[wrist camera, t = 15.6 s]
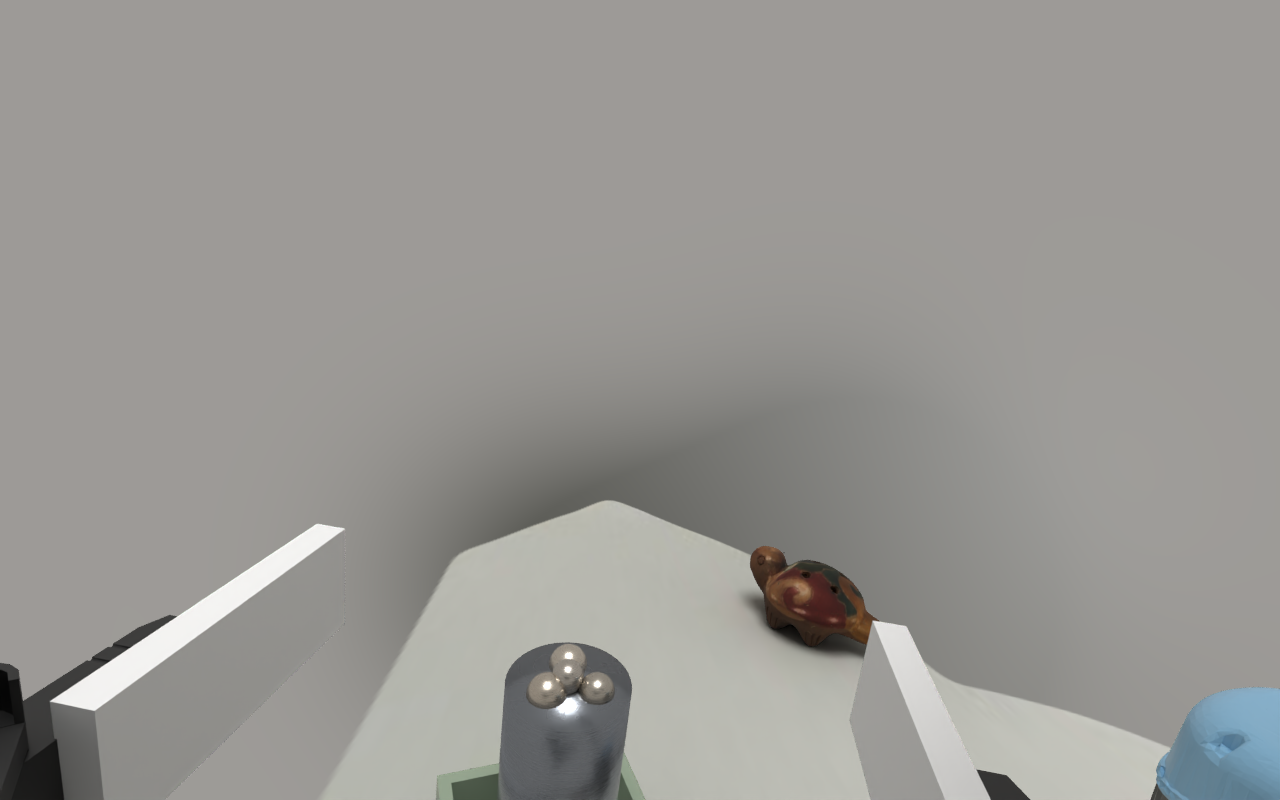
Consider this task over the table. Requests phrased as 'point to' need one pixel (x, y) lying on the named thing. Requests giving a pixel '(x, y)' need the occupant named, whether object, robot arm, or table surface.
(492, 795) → the bin
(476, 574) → the table surface
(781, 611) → the decorative turtle
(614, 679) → the can
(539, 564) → the table surface
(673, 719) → the table surface
